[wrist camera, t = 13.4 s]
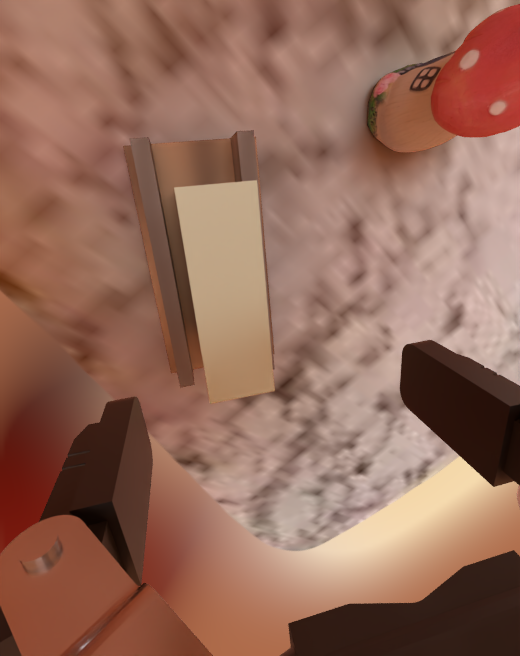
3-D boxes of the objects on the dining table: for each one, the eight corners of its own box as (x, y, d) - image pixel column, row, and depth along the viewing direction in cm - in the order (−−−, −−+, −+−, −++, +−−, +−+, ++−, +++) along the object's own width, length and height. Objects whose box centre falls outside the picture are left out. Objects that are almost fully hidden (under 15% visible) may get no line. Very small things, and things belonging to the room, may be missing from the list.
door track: (251, 139, 28) (264, 129, 24) (270, 348, 35) (282, 367, 31) (125, 148, 27) (116, 139, 23) (171, 366, 34) (171, 389, 30)
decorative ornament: (450, 55, 30) (686, -68, 16) (453, 138, 32) (658, 94, 19) (352, 81, 29) (513, -26, 15) (363, 165, 31) (509, 139, 18)
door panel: (224, 187, 28) (256, 180, 17) (240, 325, 32) (274, 391, 21) (174, 192, 27) (174, 187, 16) (197, 332, 32) (210, 403, 21)
